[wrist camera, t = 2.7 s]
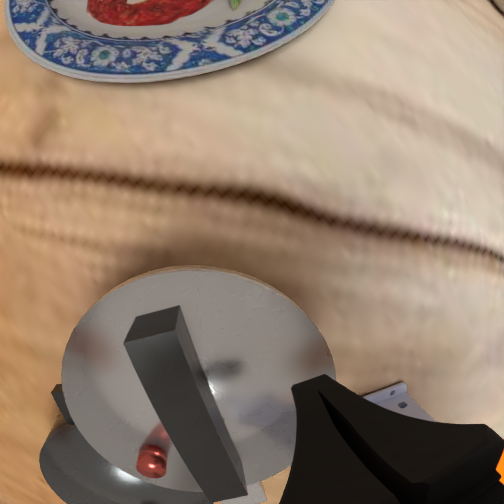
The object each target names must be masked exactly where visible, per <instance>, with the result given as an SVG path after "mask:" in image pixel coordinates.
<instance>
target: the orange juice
mask: <svg viewBox="0 0 504 504" xmlns="http://www.w3.org/2000/svg"><path fill="white" fill-rule="evenodd" d="M496 470H497V471H498V472H499V473H500V474H501V479H500V481H501V482H502V483H503V484H504V451H503V454H502V456H501V459H500V461H499V463H498V466H497V468H496Z"/></svg>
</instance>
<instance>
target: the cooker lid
mask: <svg viewBox="0 0 504 504" xmlns="http://www.w3.org/2000/svg"><path fill="white" fill-rule="evenodd" d="M323 374H326V375H328V376H329V377H331V378H332V379H334V380H335V381H336V374H335V367H334V363H333V359H332V355H331V353H330V350H329V348H328V346H327V343H326V341H325V339H324V338H323V336H322V335H321V333H320V332H319V330H318V328H317V327H316V326H315V325H314V323H313V322H312V321H311V320H310V319H309V318H308V316H307V315H306V314H305V313H304V312H303V311H302V310H301V308H300V307H299V306H298V305H297V304H296V303H294V302H293V301H292V300H291V299H290V298H289V297H287V296H286V295H285V294H284V293H282V292H281V291H279V290H277V289H276V288H274V287H273V286H271V285H269V284H268V283H266V282H263V281H261V280H259V279H257V278H255V277H252V276H250V275H247V274H244V273H240V272H237V271H234V270H230V269H225V268H219V267H213V266H199V265H185V266H172V267H166V268H161V269H157V270H152V271H149V272H146V273H143V274H140V275H137V276H135V277H132V278H130V279H128V280H126V281H124V282H123V283H121V284H119V285H117V286H115V287H114V288H113V289H111V290H110V291H109V292H107V293H106V294H105V295H103V296H102V297H101V298H100V299H99V300H98V301H97V302H96V303H95V304H94V305H93V306H92V307H91V308H90V309H89V310H88V311H87V313H86V314H85V315H84V316H83V317H82V318H81V320H80V321H79V323H78V324H77V326H76V327H75V329H74V330H73V332H72V334H71V336H70V339H69V341H68V343H67V345H66V349H65V353H64V357H63V361H62V373H61V376H62V389H63V393H64V398H65V402H66V405H67V408H68V410H69V413H70V415H71V417H72V419H73V421H74V423H75V425H76V426H77V428H78V430H79V431H80V432H81V434H82V435H83V436H84V438H85V439H86V440H87V442H88V443H89V444H90V445H91V446H92V447H93V448H94V449H95V450H96V451H97V452H98V453H99V454H100V455H101V456H103V457H104V458H105V459H106V460H107V461H109V462H110V463H111V464H113V465H114V466H116V467H117V468H119V469H120V470H122V471H124V472H126V473H128V474H130V475H131V476H133V477H135V478H138V479H140V480H143V481H145V482H148V483H151V484H154V485H157V486H160V487H164V488H169V489H174V490H180V491H189V492H204V494H205V495H206V497H207V498H208V500H209V501H210V503H212V502H217V501H221V503H222V504H256V503H260V502H264V501H267V498H266V494H265V490H264V487H263V485H262V483H261V481H262V480H265V479H267V478H269V477H271V476H273V475H275V474H277V473H279V472H281V471H282V470H284V469H285V468H287V467H288V466H290V465H291V464H292V461H293V456H294V450H295V442H296V428H297V417H296V407H295V403H294V399H293V395H292V391H291V387H292V386H293V385H294V384H297V383H300V382H303V381H306V380H309V379H312V378H314V377H317V376H320V375H323Z"/></svg>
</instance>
